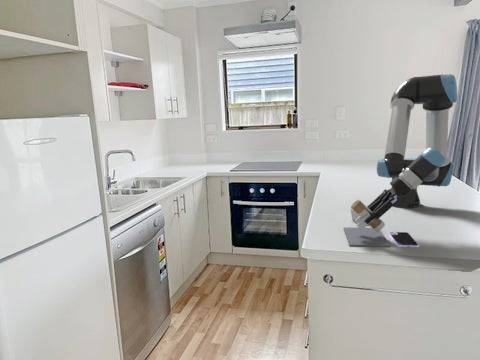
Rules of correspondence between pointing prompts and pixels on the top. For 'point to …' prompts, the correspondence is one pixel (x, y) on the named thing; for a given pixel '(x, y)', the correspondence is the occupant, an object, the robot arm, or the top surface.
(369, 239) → the charcoal mat
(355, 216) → the ramekin
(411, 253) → the top surface
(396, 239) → the mobile phone
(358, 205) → the sprinkles bottle
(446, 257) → the top surface
